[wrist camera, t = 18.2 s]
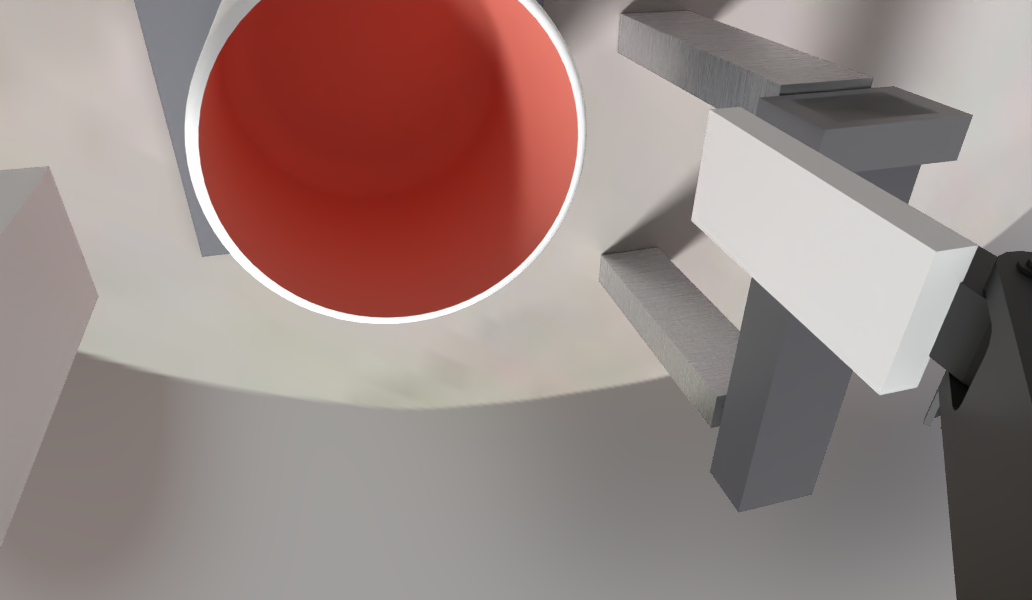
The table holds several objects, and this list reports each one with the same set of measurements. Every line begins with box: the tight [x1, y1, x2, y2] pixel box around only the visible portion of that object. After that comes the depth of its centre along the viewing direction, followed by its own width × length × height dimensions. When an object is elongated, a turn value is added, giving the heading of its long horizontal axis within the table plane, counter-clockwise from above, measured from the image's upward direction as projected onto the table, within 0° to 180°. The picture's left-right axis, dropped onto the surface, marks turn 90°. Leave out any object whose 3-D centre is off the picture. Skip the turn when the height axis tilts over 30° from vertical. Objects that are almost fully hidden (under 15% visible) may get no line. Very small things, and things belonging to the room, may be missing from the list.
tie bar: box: [710, 86, 973, 512], centre depth 22 cm, size 14×4×3 cm, turn 0°
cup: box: [185, 0, 586, 324], centre depth 22 cm, size 10×10×10 cm
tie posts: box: [599, 11, 873, 428], centre depth 24 cm, size 26×3×11 cm, turn 0°
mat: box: [134, 0, 543, 257], centre depth 26 cm, size 14×14×1 cm
